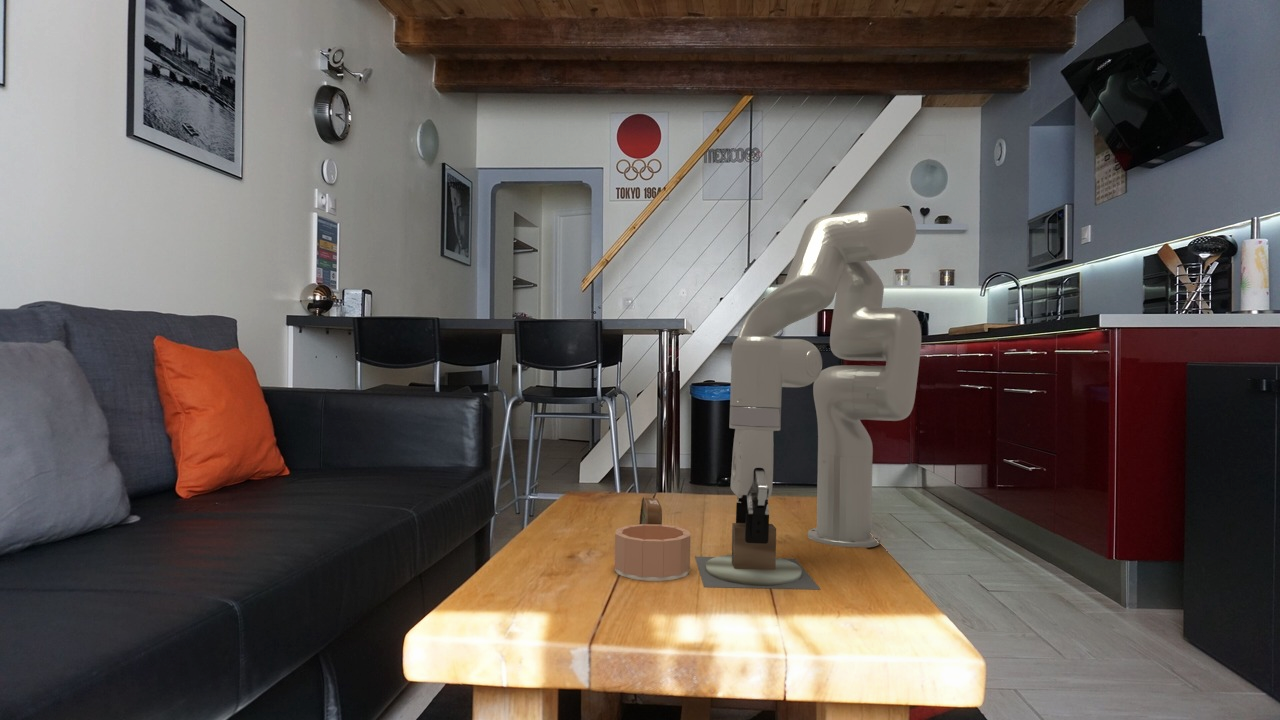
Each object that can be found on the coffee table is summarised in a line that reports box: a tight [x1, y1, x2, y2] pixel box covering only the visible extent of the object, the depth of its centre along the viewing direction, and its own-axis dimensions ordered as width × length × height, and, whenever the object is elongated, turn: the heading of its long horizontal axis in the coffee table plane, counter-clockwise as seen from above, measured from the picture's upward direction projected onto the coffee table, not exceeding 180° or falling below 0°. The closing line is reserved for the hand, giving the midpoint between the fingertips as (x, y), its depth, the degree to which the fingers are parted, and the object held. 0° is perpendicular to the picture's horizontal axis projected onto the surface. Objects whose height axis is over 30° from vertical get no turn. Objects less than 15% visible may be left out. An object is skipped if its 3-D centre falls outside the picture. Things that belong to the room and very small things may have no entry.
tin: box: [638, 496, 663, 525], centre depth 119 cm, size 15×3×8 cm, turn 3°
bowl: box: [614, 524, 691, 582], centre depth 105 cm, size 11×11×6 cm
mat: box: [694, 556, 822, 591], centre depth 105 cm, size 16×16×1 cm
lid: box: [706, 522, 802, 586], centre depth 105 cm, size 14×14×7 cm
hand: (751, 535), depth 105 cm, fingers open, 9 cm apart
